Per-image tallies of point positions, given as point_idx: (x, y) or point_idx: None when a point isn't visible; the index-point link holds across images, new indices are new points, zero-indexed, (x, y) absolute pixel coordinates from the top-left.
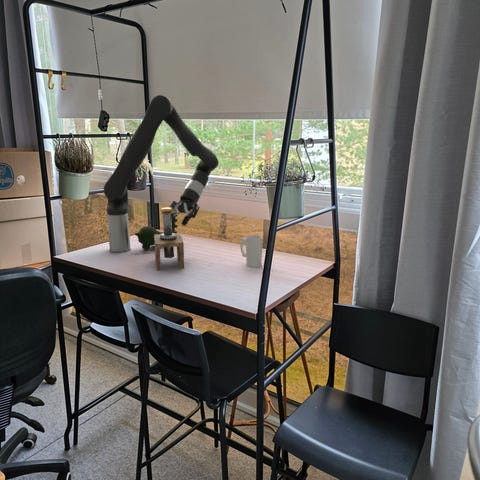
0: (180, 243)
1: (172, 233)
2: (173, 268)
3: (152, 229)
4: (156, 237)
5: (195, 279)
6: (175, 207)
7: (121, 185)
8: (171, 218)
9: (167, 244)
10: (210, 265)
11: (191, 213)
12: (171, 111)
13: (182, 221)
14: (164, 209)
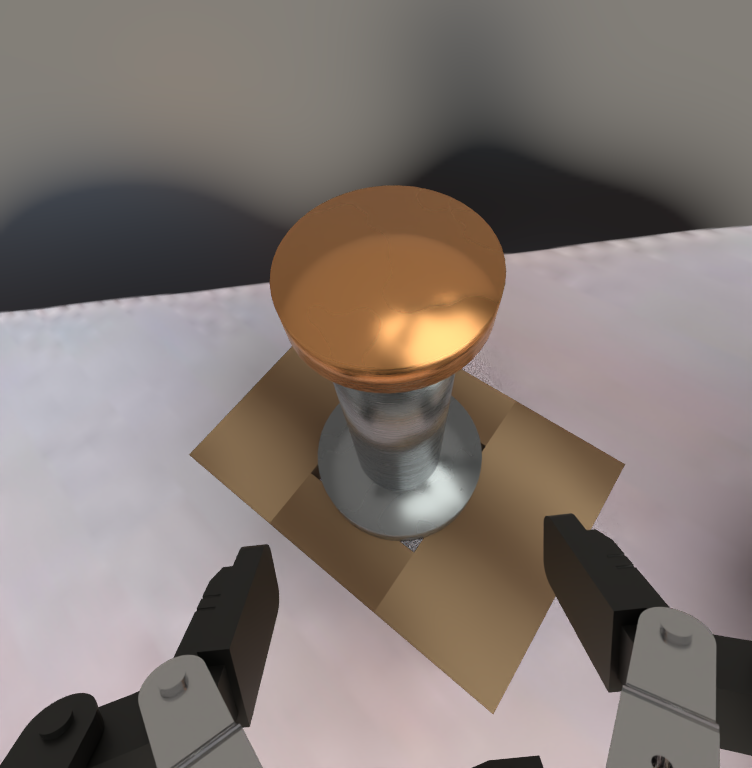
0: (211, 438)
1: (405, 512)
2: None
3: None
4: (502, 411)
5: (106, 427)
6: (669, 764)
7: None
8: (349, 410)
9: (283, 363)
10: (151, 672)
11: (39, 725)
12: None
13: (254, 560)
14: (345, 198)
